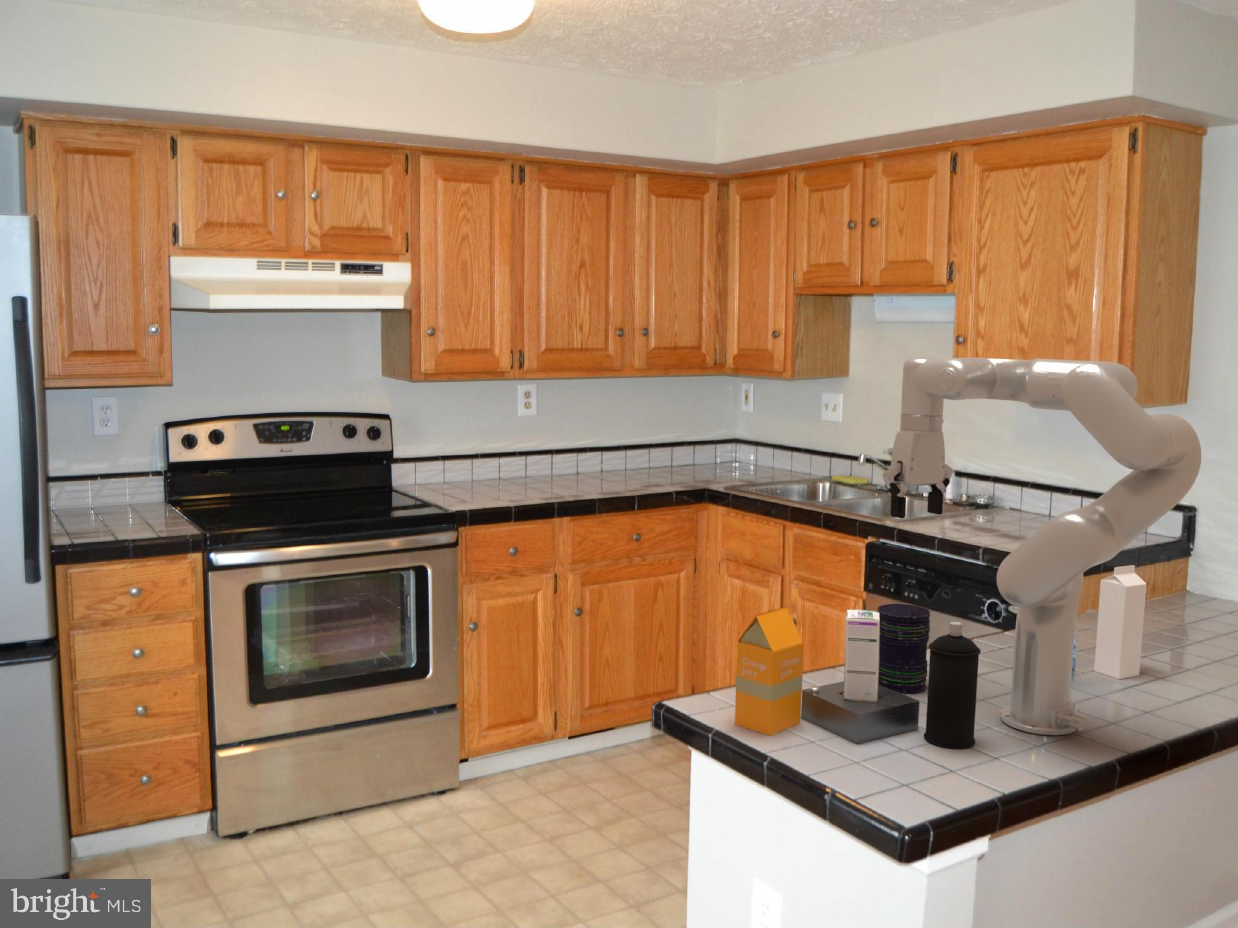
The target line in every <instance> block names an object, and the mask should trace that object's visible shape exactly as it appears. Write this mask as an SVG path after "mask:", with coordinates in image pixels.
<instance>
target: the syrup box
mask: <svg viewBox="0 0 1238 928" xmlns="http://www.w3.org/2000/svg"><path fill="white" fill-rule="evenodd" d="M844 633H845V634H844V635H845V636H844V637H845V640H844V670H843V673H844V674H843V681H844V699H848V700H856V701H869V702H877V697H878V675H879V651H880V618H879V612H878V610H876V611H875V610H868V609H847V610H846V615H845V631H844Z"/></svg>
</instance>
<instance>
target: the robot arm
mask: <svg viewBox="0 0 1238 928" xmlns="http://www.w3.org/2000/svg"><path fill="white" fill-rule="evenodd" d="M1138 388H1139V387H1138V380H1137V377H1136V375H1135V374H1134V372H1133V371H1132V370H1131V369H1130V368H1129V367H1127V366H1126V365H1123V364H1121V363H1118V362H1113V361H1097V360H1079V359H1077V360H1076V359H1074V360H1073V359H1057V358H1055V359H1054V358H1033V359H1013V358H1012V359H1011V358H1010V359H1009V358H991V357H952V358H951V357H950V358H937V357H909V358H907V359H906V360H905V361H904V363H903V367H902V385H901V390H902V391H901V402H900V403H901V405H900V406H901V408H900V421H899V422H900V425H899V431H896V435H895V438H894V442H893V445H892V447H893V448H892V453H891V460H890V467H889V468H888V469H887V470H885V471H883V473H882V479H883V482H884V487H885V488H886V490H887V491H888V495H889V496H890V510H889V511H890V516H891V517H893V518H897V519H905V518H906V510H907V509H906V508H907V496H905V494H906V493H907V490H909V487H919V486H920V487H923V486H928V487H929V489H930V490H931V491H928V492H927V507H926V508H927V509H926V510H927V512H928V514H935V515H942V514H943V511H944V510H943V508H944V507H943V506H944V494H945V493H946V492H947V487H948V486H949V485H950V483H951V478H952V476H953V474H954V469H953V468H952V467H951V466H950V465H947V464H946V463H945V462H946V453H945V449H946V448H945V437H944V432H943V424H944V421H945V420H944V403H945V402H944V400H948V401H949V400H951V401H962V400H977V399H979V400H980V399H982V400H983V399H984V400H998V401H999V400H1002V401H1012V402H1021V403H1025V404H1028V406H1029V407H1031V408H1034V409H1039V410H1041V409H1042V410H1055V411H1068V412H1070V413H1071V414H1072V415H1073V416H1074V418H1075V419H1076V420H1077V421H1078V422H1079V423H1080V424H1081V426H1083V428H1084V429H1085V430H1086V431H1087V432H1088V433H1089V434H1090V435H1091V436H1092V437H1093V439H1094V440H1096V442H1097V443H1098V444H1099V445H1100V446H1101V447H1102V448H1103V449H1104V450H1105V451H1106V453H1108V455H1110V457H1111V458H1112V459H1113V460H1115V461H1116V462H1117V463H1118V464H1120V465H1121V466H1123V467H1125V468H1126V469H1129V470H1132V471H1130V472H1129V473H1128V474H1126V475H1125V476H1123V478H1121V479H1120V480H1118V481H1117V482H1115V483H1114V485H1112V486H1111V487H1110V488H1109V489H1108V490H1107V491H1105V492H1104V493H1103V494H1102V495H1100V496H1099V497H1098V498H1097V499H1096V500H1093V502H1091V503H1090V504H1088V505H1085V506H1083V507H1079V508H1076V509H1071V510H1069V511H1066V512H1063V513H1061V514H1059V515H1057V516H1055V517H1053V518H1052V519H1050V520H1049V521H1048V522H1046V523H1045V524H1044V525H1043V526H1041V527H1040V528H1038V530H1036V531H1035V532H1034V533H1033V534H1032V535H1030V537H1028V538H1027V539H1026V540H1025V541H1023V542H1022V543H1021V544H1019V546H1017V547H1016V548H1015V549H1014V550H1012V551H1011V552H1010V553H1009V554H1008V555H1007V556H1006V557H1005V558H1004V559H1003V560H1002V562H1001V563H1000V565H999V567H998V569H997V571H996V586H997V589H998V592H999V593H1000V595H1001V597H1002V598H1003V599H1004V600H1005V601H1006V602H1008V603H1009V604H1010V605H1013V606H1015V607H1017V608H1018V609H1017V613H1016V620H1015V632H1014V645H1013V657H1012V658H1013V661H1012V676H1011V677H1012V678H1011V689H1010V691H1011V692H1010V705H1007V706H1005V707H1003V708H1002V709H1001V710H1000V720H1001V721H1002V722H1003V723H1005V725H1007V726H1008V727H1012V728H1013V729H1015V730H1019V731H1023V732H1026V733H1030V734H1035V735H1045V736H1065V735H1069V734H1073V733H1074V732H1076V731H1080V732H1081V731H1083V730H1084V728H1085V726H1086V724H1087V722H1088V717H1087V716H1085V715H1083V714H1078V713H1076V711H1075V710H1076V703H1074V702H1071V687H1072V673H1073V660H1074V658H1073V657H1074V644H1075V634H1076V622H1077V615H1078V608H1079V603H1080V599H1081V593H1082V589H1083V585H1084V584H1083V583H1084V573H1085V572H1086V571H1088V570H1089V569H1090V568H1093V567H1095V566H1097V565H1100V564H1101V565H1102V564H1104V563H1106V562H1107V561H1110V560H1112V559H1113V558H1114V557H1116V556H1117V555H1118V554H1119V553H1120V552H1121V551H1123V549H1125V548H1126V547H1127V546H1129V544H1131V543H1132V542H1133V541H1135V540H1136V539H1137V538H1138V537H1139V536H1141V535H1142V534H1143V533H1145V531H1147V530H1149V528H1150V527H1152V526H1153V525H1154V524H1155V523H1156V522H1157V521H1159V520H1160V519H1162V518H1163V517H1164V516H1165V515H1167V513H1169V512H1170V511H1171V510H1172V509H1173V508H1174V507H1176V505H1178V504H1179V503H1180V502H1181V501H1182V500H1183V499H1184V498H1185V497H1186V496H1187V494H1188V493H1189V492H1190V490H1191V489H1192V487H1193V486H1194V485H1195V483H1196V480H1197V478H1198V476H1199V473H1200V469H1201V465H1202V448H1201V443H1200V439H1199V437H1198V434H1197V432H1196V430H1195V428H1194V427H1193V426H1192V424H1191V423H1190V422H1188V421H1187V420H1186V419H1185V418H1182V417H1180V416H1178V415H1175V414H1171V413H1154V414H1153V413H1152V414H1149V413H1147V411H1146V410H1145V409H1144V408H1143V407H1142V406H1141V405H1139V403H1138V402H1137V401H1136V400H1135V398H1136V396H1137V394H1138Z"/></svg>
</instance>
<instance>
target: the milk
mask: <svg viewBox="0 0 1238 928" xmlns="http://www.w3.org/2000/svg"><path fill="white" fill-rule="evenodd" d="M1135 571H1136V565H1133V564H1132V565H1125V566H1117V567H1116V566H1115V567H1114V569H1113V575H1109V576H1107V577H1105V578H1102V579H1100V586H1099V587H1100V589H1099V599H1098V600H1099V604H1098V616H1097V625H1096V626H1097V627H1096V628H1097V630H1096V642H1095V643H1096V644H1095V655H1094V656H1095V657H1094V669H1093V671H1094V672H1096V673H1100V674H1101V675H1102V674H1103V675H1104V676H1108V677H1111V678H1113V679H1116V680H1122V679H1128V678H1129V679H1130V678H1134V677H1139V676H1140V672H1141V671H1140V670H1141V659H1142V658H1141V657H1142V645H1143V634H1144V633H1143V632H1144V622H1145V607H1146V595H1147V583H1146V581H1144V580H1143V579H1142V578H1141V577H1140V576H1139V575H1138V574H1137V573H1136V572H1135Z"/></svg>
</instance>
